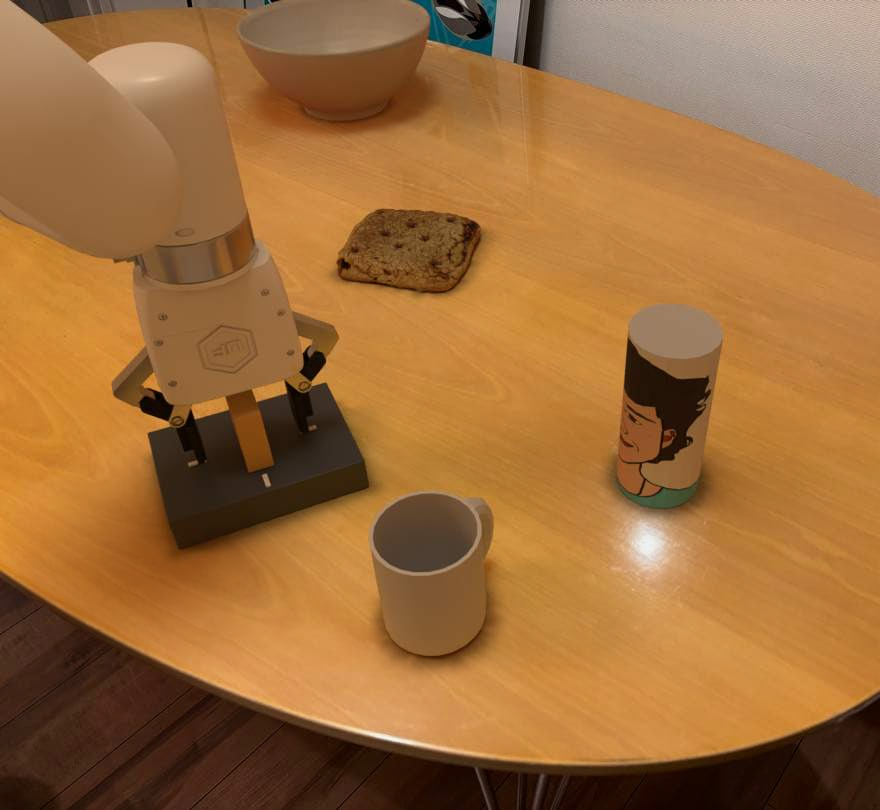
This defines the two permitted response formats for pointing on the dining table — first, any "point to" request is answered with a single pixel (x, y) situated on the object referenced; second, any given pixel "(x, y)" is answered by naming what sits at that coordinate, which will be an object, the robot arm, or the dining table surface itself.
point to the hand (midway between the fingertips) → (251, 436)
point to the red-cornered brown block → (250, 430)
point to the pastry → (409, 249)
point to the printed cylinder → (666, 403)
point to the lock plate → (263, 491)
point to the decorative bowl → (336, 52)
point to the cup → (432, 569)
